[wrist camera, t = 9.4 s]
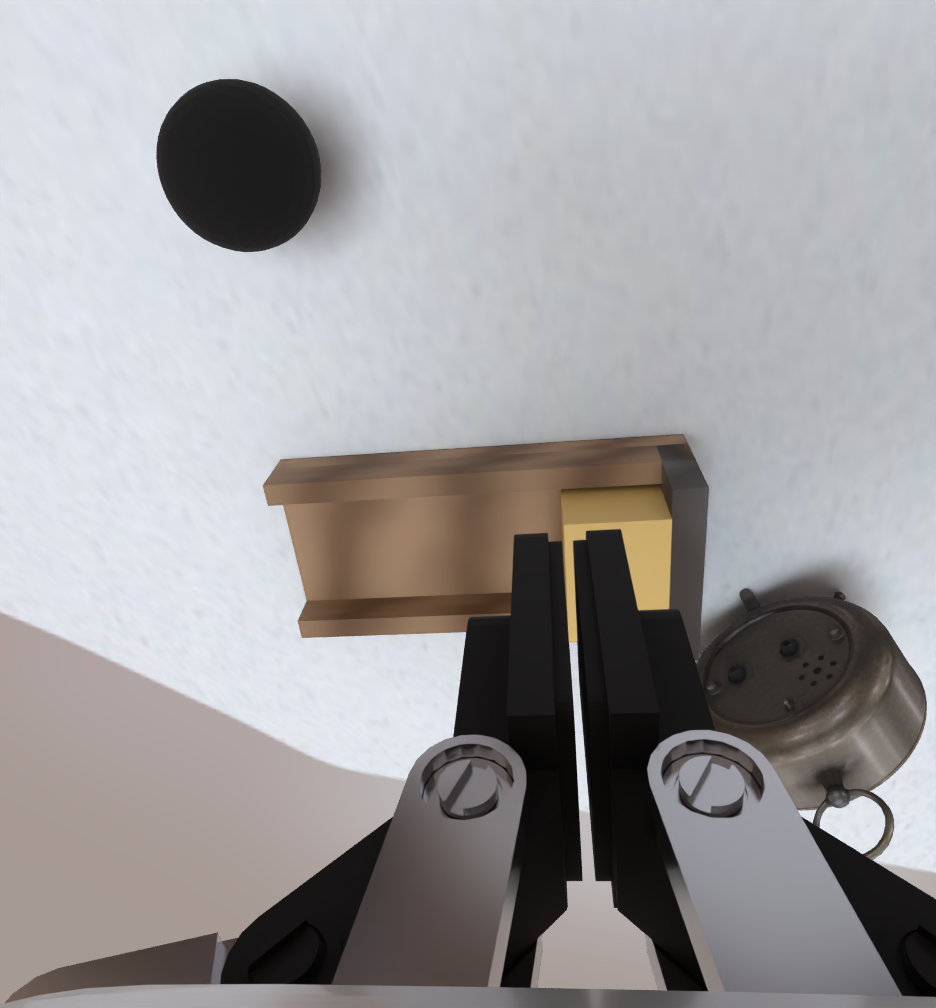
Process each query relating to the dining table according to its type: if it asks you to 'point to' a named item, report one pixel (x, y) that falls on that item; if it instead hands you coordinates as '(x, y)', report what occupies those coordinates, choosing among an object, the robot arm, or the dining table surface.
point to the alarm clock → (817, 699)
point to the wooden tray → (463, 527)
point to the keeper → (642, 533)
